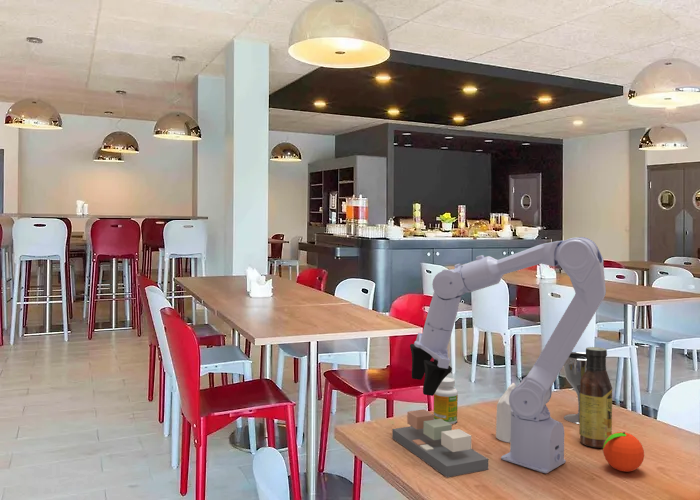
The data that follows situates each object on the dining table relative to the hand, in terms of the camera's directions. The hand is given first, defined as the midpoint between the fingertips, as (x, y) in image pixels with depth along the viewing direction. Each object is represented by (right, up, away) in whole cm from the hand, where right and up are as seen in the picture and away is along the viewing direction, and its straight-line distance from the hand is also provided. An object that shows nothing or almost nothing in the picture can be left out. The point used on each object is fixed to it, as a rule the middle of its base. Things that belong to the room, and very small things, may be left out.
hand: (422, 386), depth 123 cm
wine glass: (+39, -11, +15) cm, 43 cm away
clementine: (+35, -12, -14) cm, 40 cm away
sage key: (+2, -8, -7) cm, 11 cm away
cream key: (+5, -8, -13) cm, 16 cm away
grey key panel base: (+2, -12, -7) cm, 14 cm away
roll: (+19, -12, +2) cm, 22 cm away
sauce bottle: (+36, -12, -1) cm, 38 cm away
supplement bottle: (+7, -11, +13) cm, 18 cm away
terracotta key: (0, -8, -1) cm, 8 cm away
